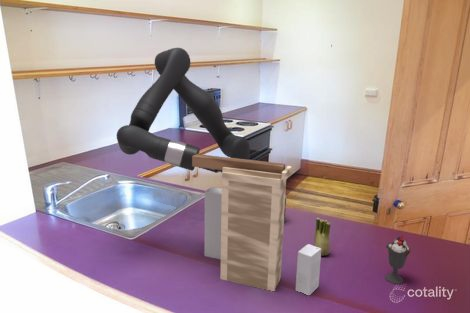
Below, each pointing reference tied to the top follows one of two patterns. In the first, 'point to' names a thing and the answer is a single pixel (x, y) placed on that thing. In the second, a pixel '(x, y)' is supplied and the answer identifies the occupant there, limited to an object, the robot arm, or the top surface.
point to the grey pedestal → (213, 222)
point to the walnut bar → (235, 164)
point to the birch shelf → (252, 226)
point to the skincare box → (308, 269)
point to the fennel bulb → (322, 236)
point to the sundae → (397, 258)
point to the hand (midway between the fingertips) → (232, 169)
